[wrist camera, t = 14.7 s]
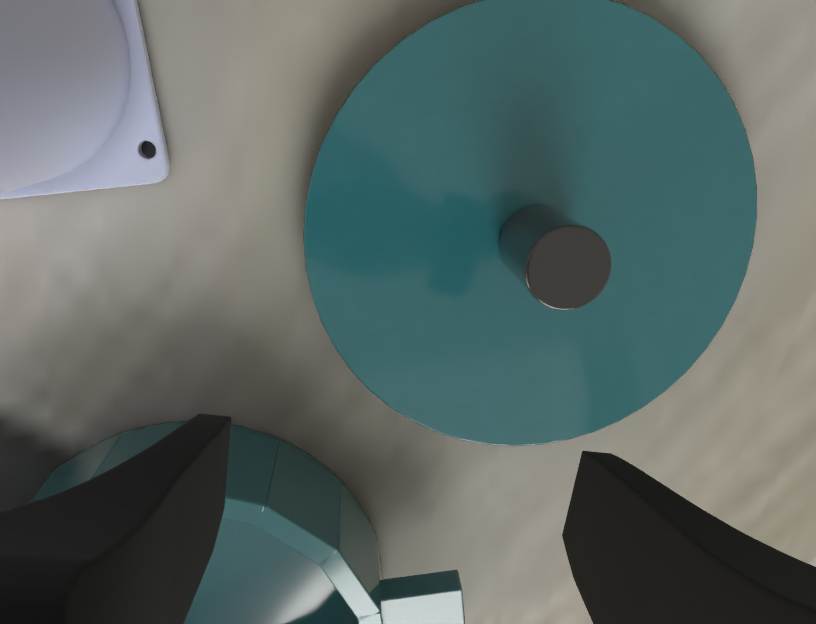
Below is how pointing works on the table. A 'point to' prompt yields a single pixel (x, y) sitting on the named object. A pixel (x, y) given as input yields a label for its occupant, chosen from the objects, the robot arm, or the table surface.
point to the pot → (285, 541)
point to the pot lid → (530, 219)
